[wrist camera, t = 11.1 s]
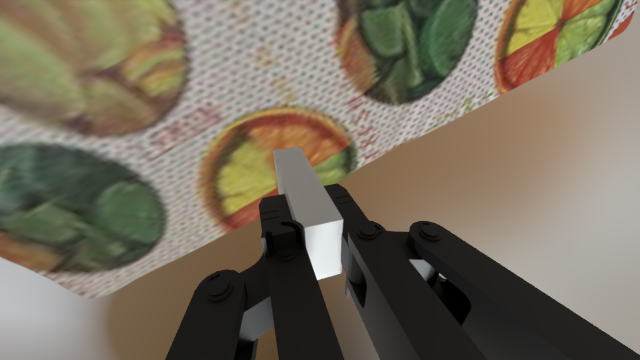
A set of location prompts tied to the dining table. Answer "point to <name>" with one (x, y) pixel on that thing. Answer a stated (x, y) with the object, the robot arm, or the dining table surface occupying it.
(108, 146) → the dining table surface
